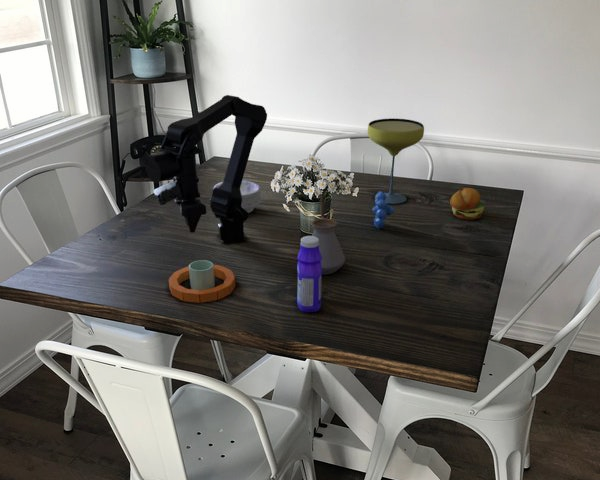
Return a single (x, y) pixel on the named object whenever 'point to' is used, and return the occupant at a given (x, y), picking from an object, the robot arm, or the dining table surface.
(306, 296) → the bottle
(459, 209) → the cheeseburger
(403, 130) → the cocktail glass
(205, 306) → the dining table surface
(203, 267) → the cup
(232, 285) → the ring
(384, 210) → the grapes
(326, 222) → the coffee pot
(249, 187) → the paper bowls
